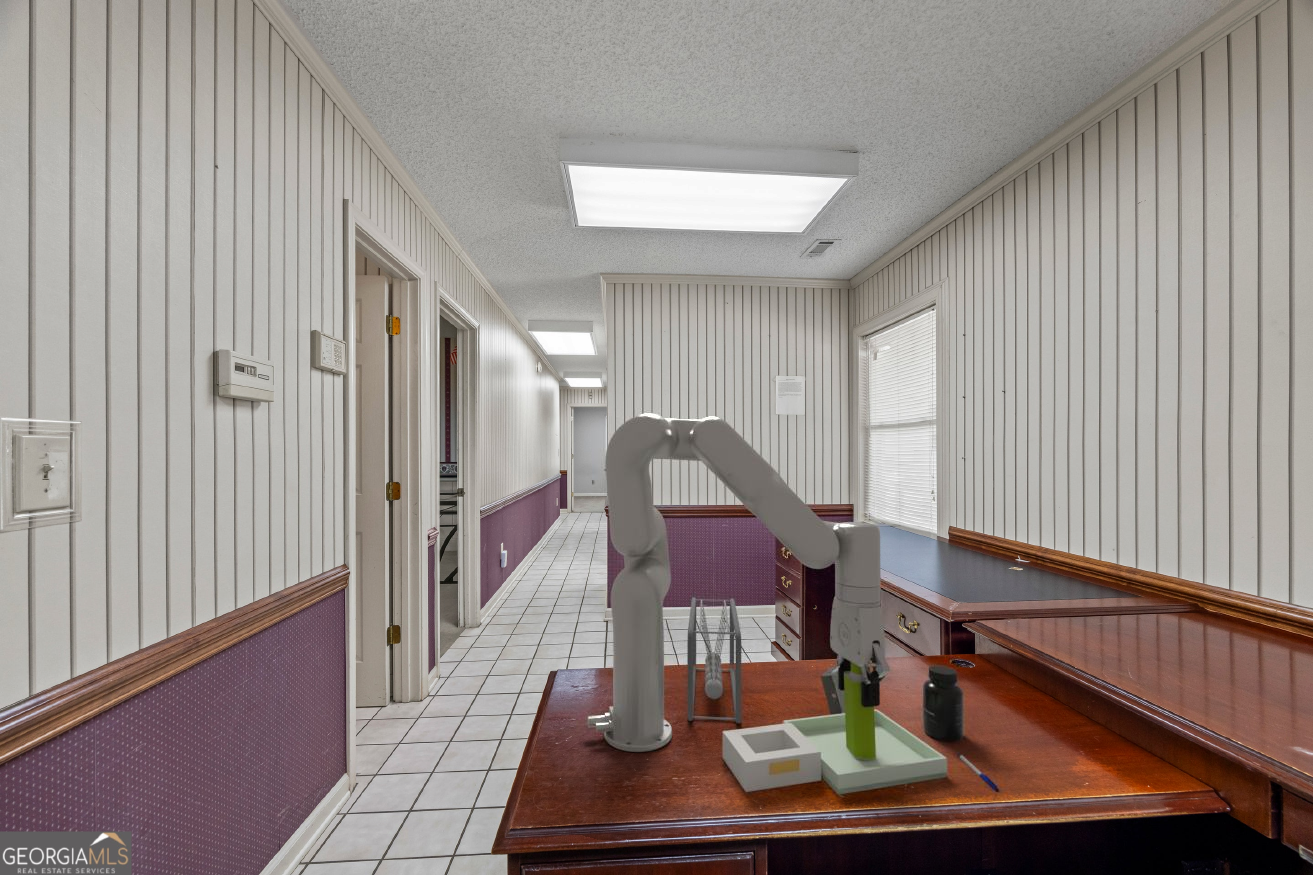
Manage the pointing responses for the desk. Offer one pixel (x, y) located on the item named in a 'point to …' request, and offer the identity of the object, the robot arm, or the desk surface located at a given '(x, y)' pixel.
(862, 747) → the vape
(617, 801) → the desk surface
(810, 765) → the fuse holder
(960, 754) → the ballpoint pen
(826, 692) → the electrical switch
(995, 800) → the desk surface
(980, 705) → the desk surface
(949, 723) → the supplement bottle
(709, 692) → the newton's cradle
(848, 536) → the robot arm
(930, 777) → the parts tray
